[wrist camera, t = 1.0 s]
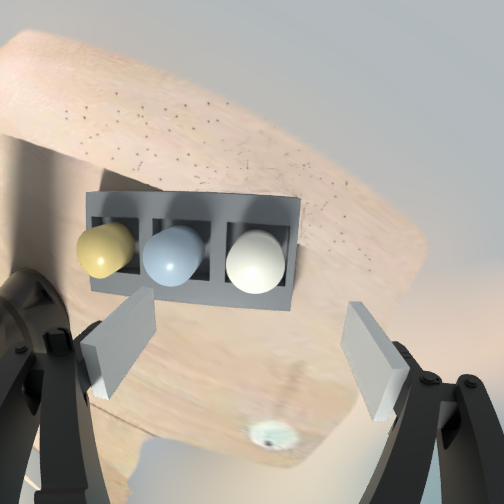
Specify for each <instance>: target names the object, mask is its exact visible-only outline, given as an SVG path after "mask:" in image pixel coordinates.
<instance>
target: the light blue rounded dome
mask: <svg viewBox="0 0 504 504" xmlns="http://www.w3.org/2000/svg"><path fill="white" fill-rule="evenodd" d="M204 255H205V246H204V242H203V240H202V238H201V236H200V235H199V234H198V233H197V232H196V231H195V230H194V229H192V228H191V227H188V226H185V225H175V226H172V227H170V228H168V229H166V230H164V231H162V232H160V233H157V234H155V235H154V236H152V237H151V238H150V239H149V240H148V241H147V243H146V244H145V247H144V250H143V264H144V267H145V270H146V272H147V273H148V275H149V276H150V277H151V278H152V279H153V280H154V281H156V282H157V283H159V284H161V285H164V286H169V287H173V286H178V285H181V284H183V283H185V282H186V281H187V280H188V279H189V278H190V277H191V276H192V274H193V273H194V272H195V271H196V269H197V268H198V267H199V265H200V264H201V263H202V261H203V258H204Z"/></svg>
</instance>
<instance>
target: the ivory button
mask: <svg viewBox="0 0 504 504" xmlns="http://www.w3.org/2000/svg"><path fill="white" fill-rule="evenodd" d="M226 270H227V274H228V277H229V279H230V280H231V282H232V283H233V284H234V285H235V286H236V287H237V288H239V289H240V290H242V291H244V292H247V293H252V294H259V293H264V292H267V291H269V290H271V289H273V288H274V287H275V286H276V285H277V284H278V283H279V282H280V280H281V279H282V277H283V274H284V270H285V262H284V257H283V253H282V249H281V245H280V243H279V241H278V240H277V239H276V238H275V237H274V236H273V235H272V234H271V233H269V232H267V231H264V230H259V229H255V230H249V231H247V232H244V233H243V234H241V235H240V236H239V237H238V238H237V239H236V241H235V242H234V244H233V246H232V248H231V250H230V252H229V254H228V256H227V260H226Z"/></svg>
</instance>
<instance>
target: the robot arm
mask: <svg viewBox="0 0 504 504" xmlns="http://www.w3.org/2000/svg"><path fill="white" fill-rule="evenodd" d="M155 332H156V321H155V307H154V291H153V288H149V287H140V288H139V289H138V290H137V291H136V292H134V293H133V294H132V295H131V296H130V297H129V298H128V299H127V300H126V301H124V302H123V303H122V304H121V305H120V306H119V307H118V308H117V309H116V310H114V311H113V312H112V313H111V314H110V315H109V316H108V317H107V318H106V319H105V320H103V321H100V320H99V321H97V322H95V323H92V324H91V325H90V326H88V327H87V328H86V330H84V331H83V332H82V333H81V334H79V335H78V336H77V337H76V338H75V339H74V340H73V339H72V335H71V331H70V324H69V319H68V315H67V312H66V309H65V306H64V304H63V302H62V300H61V298H60V296H59V294H58V293H57V291H56V290H55V288H54V287H53V286H52V284H51V283H50V282H49V281H48V280H47V279H46V278H45V277H44V276H43V275H41V274H40V273H38V272H37V271H35V270H32V269H27V268H24V269H20V270H18V271H16V272H14V273H13V274H12V275H11V276H10V277H9V278H8V279H7V280H6V281H5V282H4V284H3V285H2V286H1V287H0V504H19V498H20V493H21V489H22V484H23V480H24V476H25V471H26V468H27V464H28V460H29V457H30V452H31V450H32V446H33V443H34V440H35V436H36V433H37V430H38V427H39V424H40V471H41V490H39V491H36V492H35V494H34V504H110V501H109V497H108V494H107V490H106V487H105V483H104V479H103V475H102V471H101V467H100V462H99V458H98V453H97V448H96V443H95V437H94V432H93V425H92V419H91V412H90V404H89V397H88V394H87V390H88V389H89V388H90V386H91V387H92V391H93V394H94V396H96V397H100V398H103V399H107V400H109V399H110V398H111V396H112V395H113V393H114V392H115V390H116V389H117V387H118V386H119V384H120V383H121V381H122V380H123V378H124V377H125V375H126V374H127V373H128V371H129V370H130V368H131V367H132V365H133V364H134V362H135V361H136V359H137V358H138V356H139V355H140V354H141V352H142V351H143V349H144V348H145V346H146V345H147V343H148V342H149V341H150V339H151V338H152V336H153V335H154V333H155ZM341 347H342V349H343V351H344V353H345V356H346V358H347V360H348V363H349V365H350V367H351V370H352V372H353V375H354V377H355V379H356V382H357V384H358V387H359V389H360V391H361V394H362V396H363V398H364V401H365V404H366V406H367V408H368V411H369V413H370V416H371V419H372V421H373V422H374V421H383V420H389V418H390V416H391V414H392V412H393V409H394V411H395V413H396V415H397V417H396V419H395V421H394V423H393V425H392V427H391V429H390V431H389V433H388V435H389V437H388V439H387V442H386V445H385V447H384V450H383V453H382V455H381V457H380V460H379V462H378V464H377V467H376V469H375V471H374V473H373V476H372V478H371V480H370V482H369V484H368V486H367V488H366V491H365V492H364V494H363V496H362V498H361V500H360V502H359V504H420V502H421V499H422V495H423V492H424V488H425V485H426V481H427V477H428V472H429V469H430V464H431V460H432V455H433V450H434V444H435V439H436V440H437V448H438V456H439V466H440V478H441V494H442V504H504V434H503V431H502V428H501V425H500V423H499V420H498V418H497V415H496V412H495V410H494V408H493V405H492V402H491V400H490V398H489V395H488V393H487V391H486V389H485V386H484V384H483V382H482V381H481V380H480V379H479V378H478V377H476V376H474V375H469V374H464V375H461V376H460V377H459V378H458V380H457V382H456V384H449V383H442V379H441V378H440V377H439V376H438V375H436V374H435V373H432V372H430V371H423V370H422V368H421V367H420V366H419V364H418V363H417V362H416V360H415V359H414V358H413V356H412V355H411V354H410V353H409V351H408V350H407V349H406V347H405V346H403V345H402V344H400V343H399V342H397V341H394V342H391V341H390V339H389V338H388V336H387V335H386V334H385V332H384V331H383V330H382V328H381V327H380V326H379V324H378V323H377V322H376V320H375V319H374V318H373V316H372V315H371V314H370V312H369V311H368V310H367V308H366V307H365V306H364V304H363V303H362V302H350V301H349V304H348V309H347V314H346V320H345V325H344V330H343V335H342V339H341Z"/></svg>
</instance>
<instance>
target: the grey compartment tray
mask: <svg viewBox="0 0 504 504" xmlns="http://www.w3.org/2000/svg"><path fill="white" fill-rule="evenodd" d="M300 202H301V199H300V198H298V197H285V196H272V195H256V194H238V193H217V192H189V191H95V192H86V230H88V229H91V228H94V227H97V226H100V225H104V224H107V223H111V222H118V223H121V224H123V225H125V226H126V227H127V228H128V229H129V230H130V232H131V233H132V235H133V237H134V240H135V253H134V256H133V258H132V260H131V261H130V262H129V263H128V264H127V265H125V266H124V267H122V268H120V269H119V270H117V271H116V272H114V273H112V274H111V275H109V276H108V277H106V278H101V279H100V278H94V277H92V276H90V284H91V291H95V292H102V293H109V294H116V295H123V296H131V295H132V294H133V293H134V292H136V291H137V290H138V289H139V288H140V287H149V288H153V291H154V300H162V301H171V302H181V303H190V304H200V305H211V306H222V307H234V308H247V309H262V310H278V311H290V308H291V299H292V290H293V281H294V271H295V261H296V250H297V239H298V228H299V215H300ZM175 225H185V226H188V227H191V228H192V229H194V230H195V231H196V232H197V233H198V234H199V235H200V236H201V238H202V240H203V242H204V246H205V255H204V258H203V261H202V263H201V264H200V265H199V267H198V268H197V269H196V271H195V272H194V273H193V274H192V276H191V277H190V278H189V279H188V280H187V281H186V282H185V283H183V284H181V285H178V286H173V287H169V286H164V285H161V284H159V283H157V282H156V281H154V280H153V279H152V278H151V277H150V276H149V275H148V273H147V272H146V270H145V267H144V264H143V250H144V247H145V244H146V243H147V241H148V240H149V239H150V238H151V237H152V236H154V235H155V234H157V233H160V232H162V231H164V230H166V229H168V228H170V227H172V226H175ZM255 229H259V230H264V231H267V232H269V233H271V234H272V235H273V236H274V237H275V238H276V239H277V240H278V241H279V243H280V245H281V249H282V253H283V257H284V262H285V270H284V274H283V277H282V279H281V280H280V282H279V283H278V284H277V285H276V286H275V287H274V288H273V289H271V290H269V291H267V292H264V293H259V294H252V293H247V292H244V291H242V290H240V289H239V288H237V287H236V286H235V285H234V284H233V283H232V282H231V280H230V279H229V277H228V274H227V270H226V260H227V256H228V254H229V252H230V250H231V248H232V246H233V244H234V242H235V241H236V239H237V238H238V237H239V236H240V235H241V234H243V233H244V232H247V231H249V230H255Z"/></svg>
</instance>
